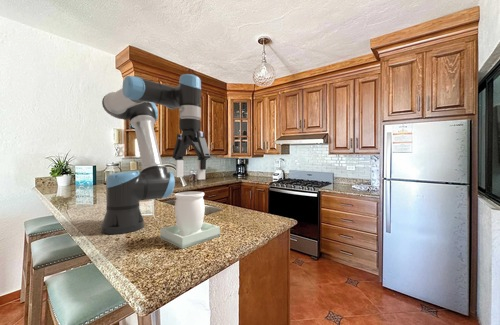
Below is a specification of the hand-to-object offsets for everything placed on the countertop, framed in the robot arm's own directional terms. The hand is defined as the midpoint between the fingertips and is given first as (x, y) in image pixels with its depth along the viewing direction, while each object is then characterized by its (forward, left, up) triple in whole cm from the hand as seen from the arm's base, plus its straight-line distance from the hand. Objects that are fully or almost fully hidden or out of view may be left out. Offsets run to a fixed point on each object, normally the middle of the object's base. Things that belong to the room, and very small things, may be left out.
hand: (189, 178), depth 79 cm
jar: (0, 0, -21) cm, 21 cm away
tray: (0, 0, -21) cm, 21 cm away
